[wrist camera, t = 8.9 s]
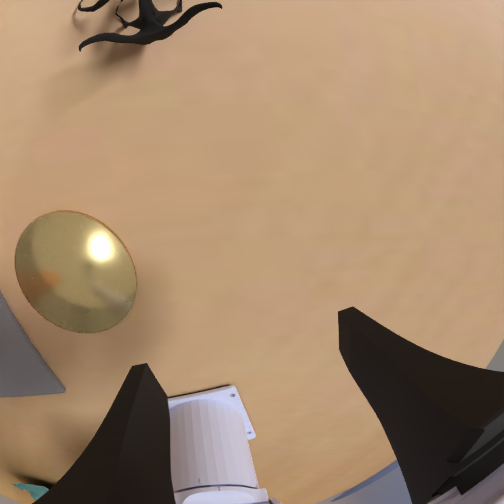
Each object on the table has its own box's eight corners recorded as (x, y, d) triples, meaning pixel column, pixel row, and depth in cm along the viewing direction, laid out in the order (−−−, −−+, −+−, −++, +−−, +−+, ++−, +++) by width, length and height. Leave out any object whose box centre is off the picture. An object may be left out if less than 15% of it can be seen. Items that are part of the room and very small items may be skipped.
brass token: (156, 315, 20) (156, 318, 20) (53, 339, 20) (52, 341, 19) (107, 191, 16) (105, 192, 16) (-2, 234, 16) (-4, 236, 15)
